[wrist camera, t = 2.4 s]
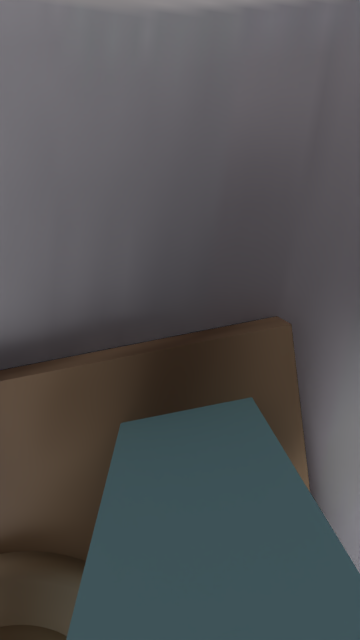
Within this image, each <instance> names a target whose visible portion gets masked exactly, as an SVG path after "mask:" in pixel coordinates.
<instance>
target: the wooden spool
mask: <svg viewBox="0 0 360 640" xmlns="http://www.w3.org/2000/svg"><path fill="white" fill-rule="evenodd" d="M85 563H86V562H85V561H83V560H80V559H77V558H74V557H70V556H66V555H62V554H56V553H50V552H39V551H20V552H10V553H3V554H0V640H66V638H67V634H68V630H69V626H70V622H71V619H72V615H73V611H74V607H75V603H76V599H77V595H78V591H79V587H80V583H81V579H82V575H83V571H84V567H85Z"/></svg>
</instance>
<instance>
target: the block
mask: <svg viewBox="0 0 360 640" xmlns="http://www.w3.org/2000/svg"><path fill="white" fill-rule="evenodd" d="M66 640H360V574H359V572H358V570H357V569H356V567H355V565H354V564H353V562H352V560H351V559H350V557H349V556H348V554H347V552H346V551H345V549H344V547H343V546H342V544H341V542H340V541H339V539H338V538H337V536H336V534H335V533H334V531H333V529H332V528H331V526H330V524H329V523H328V521H327V519H326V518H325V516H324V515H323V513H322V511H321V510H320V508H319V506H318V505H317V503H316V501H315V500H314V498H313V497H312V495H311V493H310V492H309V490H308V488H307V487H306V485H305V483H304V482H303V480H302V478H301V477H300V475H299V474H298V472H297V470H296V469H295V467H294V465H293V464H292V462H291V460H290V459H289V457H288V456H287V454H286V452H285V451H284V449H283V447H282V446H281V444H280V442H279V441H278V439H277V437H276V436H275V434H274V433H273V431H272V429H271V428H270V426H269V424H268V423H267V421H266V419H265V418H264V416H263V415H262V413H261V411H260V410H259V408H258V406H257V405H256V403H255V401H254V400H253V398H252V397H250V398H245V399H240V400H235V401H230V402H224V403H219V404H214V405H209V406H204V407H199V408H194V409H189V410H184V411H179V412H174V413H169V414H164V415H159V416H154V417H149V418H144V419H139V420H134V421H128V422H123V423H121V424H120V428H119V432H118V436H117V440H116V444H115V448H114V452H113V456H112V460H111V464H110V468H109V472H108V476H107V479H106V483H105V487H104V491H103V495H102V499H101V503H100V507H99V511H98V515H97V519H96V523H95V527H94V531H93V535H92V539H91V543H90V547H89V551H88V555H87V559H86V563H85V567H84V571H83V575H82V579H81V583H80V587H79V591H78V595H77V599H76V603H75V607H74V611H73V615H72V619H71V622H70V626H69V630H68V634H67V638H66Z"/></svg>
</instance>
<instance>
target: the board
mask: <svg viewBox="0 0 360 640" xmlns="http://www.w3.org/2000/svg"><path fill="white" fill-rule="evenodd" d="M250 397H252V398H253V400H254V401H255V403H256V405H257V406H258V408H259V410H260V411H261V413H262V415H263V416H264V418H265V419H266V421H267V423H268V424H269V426H270V428H271V429H272V431H273V433H274V434H275V436H276V437H277V439H278V441H279V442H280V444H281V446H282V447H283V449H284V451H285V452H286V454H287V456H288V457H289V459H290V460H291V462H292V464H293V465H294V467H295V469H296V470H297V472H298V474H299V475H300V477H301V478H302V480H303V482H304V483H305V485H306V487H307V488H308V490H309V492H310V488H309V479H308V470H307V461H306V452H305V443H304V434H303V425H302V416H301V407H300V398H299V389H298V380H297V371H296V362H295V352H294V343H293V334H292V325H291V324H290V323H288V322H286V321H285V320H283V319H281V318H279V317H278V316H276V317H271V318H266V319H260V320H255V321H250V322H245V323H240V324H235V325H230V326H225V327H220V328H214V329H209V330H204V331H199V332H194V333H189V334H184V335H179V336H173V337H168V338H163V339H158V340H153V341H148V342H143V343H138V344H133V345H127V346H122V347H117V348H112V349H107V350H102V351H97V352H92V353H86V354H81V355H76V356H71V357H66V358H61V359H56V360H51V361H46V362H40V363H35V364H30V365H25V366H20V367H15V368H10V369H5V370H0V554H3V553H10V552H20V551H39V552H50V553H56V554H62V555H66V556H70V557H74V558H77V559H80V560H83V561H85V562H86V559H87V555H88V551H89V547H90V543H91V539H92V535H93V531H94V527H95V523H96V519H97V515H98V511H99V507H100V503H101V499H102V495H103V491H104V487H105V483H106V479H107V476H108V472H109V468H110V464H111V460H112V456H113V452H114V448H115V444H116V440H117V436H118V432H119V428H120V424H121V423H123V422H128V421H134V420H139V419H144V418H149V417H154V416H159V415H164V414H169V413H174V412H179V411H184V410H189V409H194V408H199V407H204V406H209V405H214V404H219V403H224V402H230V401H235V400H240V399H245V398H250Z"/></svg>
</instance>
